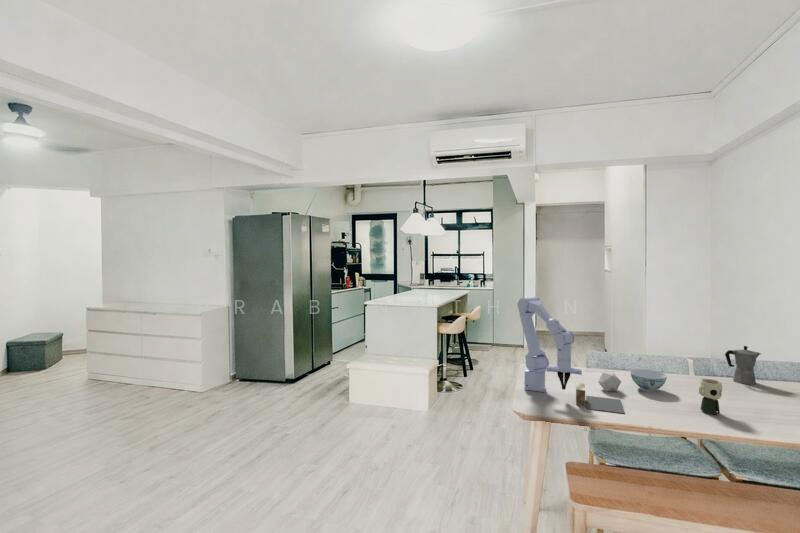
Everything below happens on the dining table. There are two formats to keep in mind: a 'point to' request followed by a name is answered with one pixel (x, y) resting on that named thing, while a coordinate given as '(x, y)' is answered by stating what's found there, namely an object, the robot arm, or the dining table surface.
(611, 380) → the die
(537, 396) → the dining table surface
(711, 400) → the character mug
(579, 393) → the two-tone wooden block
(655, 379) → the chinaware
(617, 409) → the mat
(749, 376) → the coffeepot
